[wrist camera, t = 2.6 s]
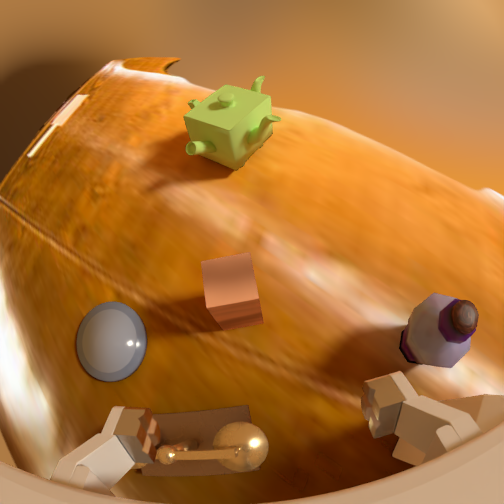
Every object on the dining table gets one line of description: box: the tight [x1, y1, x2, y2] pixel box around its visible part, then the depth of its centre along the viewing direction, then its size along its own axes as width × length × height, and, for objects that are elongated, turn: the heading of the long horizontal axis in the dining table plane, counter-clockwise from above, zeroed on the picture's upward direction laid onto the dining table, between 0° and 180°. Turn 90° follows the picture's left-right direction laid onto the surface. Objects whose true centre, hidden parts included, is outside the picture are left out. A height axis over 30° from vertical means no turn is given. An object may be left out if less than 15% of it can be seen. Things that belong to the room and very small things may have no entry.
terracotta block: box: [201, 252, 264, 330], centre depth 33 cm, size 5×5×9 cm
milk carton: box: [392, 394, 504, 466], centre depth 18 cm, size 7×7×19 cm
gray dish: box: [77, 302, 147, 382], centre depth 35 cm, size 11×11×1 cm
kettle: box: [184, 76, 281, 171], centre depth 46 cm, size 15×14×11 cm
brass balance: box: [131, 405, 269, 476], centre depth 24 cm, size 8×18×11 cm, turn 100°
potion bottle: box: [399, 293, 479, 368], centre depth 27 cm, size 9×9×12 cm
